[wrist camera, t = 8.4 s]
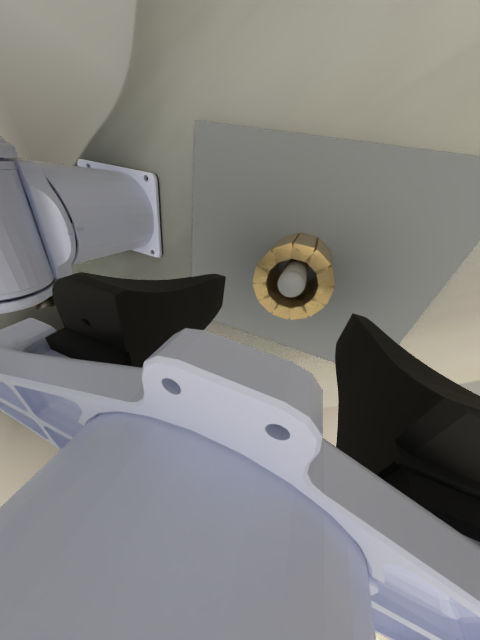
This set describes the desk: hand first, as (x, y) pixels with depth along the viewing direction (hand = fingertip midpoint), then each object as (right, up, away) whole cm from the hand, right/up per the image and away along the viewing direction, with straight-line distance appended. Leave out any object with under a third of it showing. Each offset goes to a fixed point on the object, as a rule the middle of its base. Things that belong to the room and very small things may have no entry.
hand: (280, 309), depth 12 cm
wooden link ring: (+3, +4, +7) cm, 9 cm away
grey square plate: (+3, +5, +8) cm, 9 cm away
